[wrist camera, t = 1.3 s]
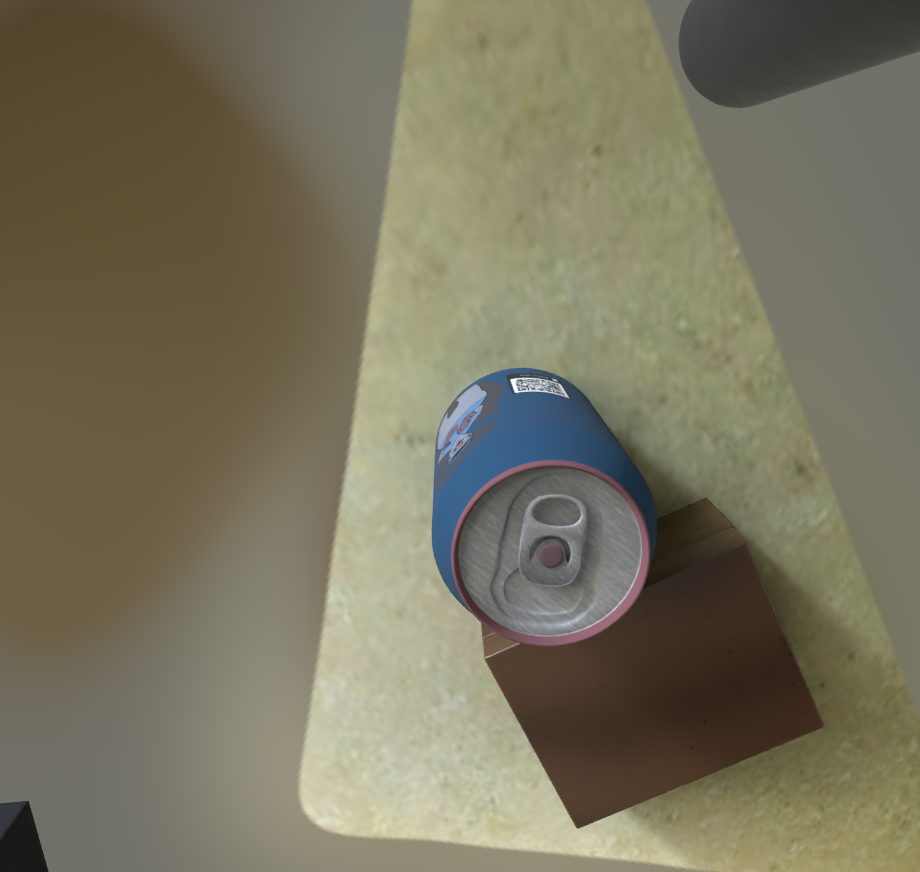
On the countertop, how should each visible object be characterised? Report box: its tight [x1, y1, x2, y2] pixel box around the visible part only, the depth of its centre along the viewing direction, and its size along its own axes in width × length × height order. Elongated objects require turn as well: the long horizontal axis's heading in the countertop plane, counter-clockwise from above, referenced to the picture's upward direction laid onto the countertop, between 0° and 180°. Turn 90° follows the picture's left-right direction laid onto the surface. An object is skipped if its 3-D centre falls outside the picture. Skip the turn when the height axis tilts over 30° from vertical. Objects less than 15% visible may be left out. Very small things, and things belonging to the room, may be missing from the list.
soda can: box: [432, 368, 657, 647], centre depth 29 cm, size 7×7×12 cm
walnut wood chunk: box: [481, 498, 824, 828], centre depth 35 cm, size 9×11×5 cm
